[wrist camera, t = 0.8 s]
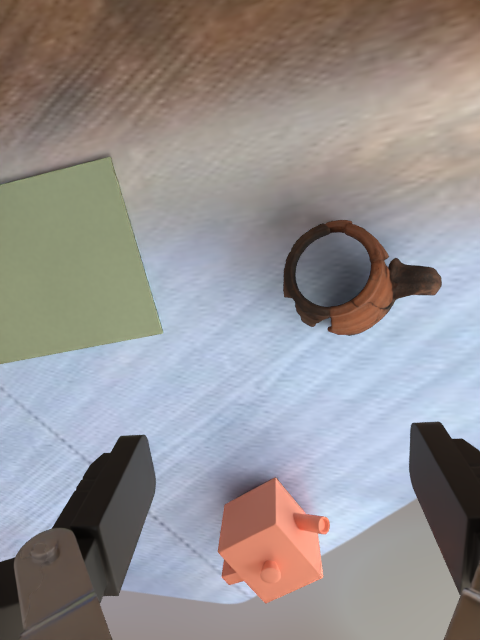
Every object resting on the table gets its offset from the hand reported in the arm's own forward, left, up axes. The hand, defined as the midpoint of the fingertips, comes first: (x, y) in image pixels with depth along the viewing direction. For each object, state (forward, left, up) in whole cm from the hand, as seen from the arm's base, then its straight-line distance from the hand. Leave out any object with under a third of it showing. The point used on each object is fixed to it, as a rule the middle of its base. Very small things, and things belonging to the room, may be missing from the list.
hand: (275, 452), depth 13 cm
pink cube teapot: (+26, -5, -26) cm, 37 cm away
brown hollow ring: (+2, +7, -26) cm, 27 cm away
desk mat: (-4, -21, -26) cm, 34 cm away
